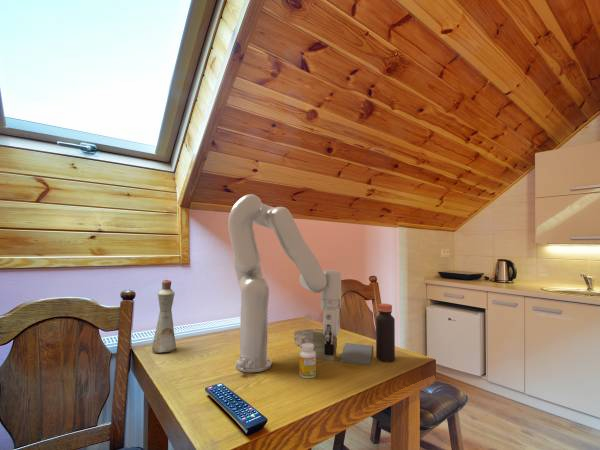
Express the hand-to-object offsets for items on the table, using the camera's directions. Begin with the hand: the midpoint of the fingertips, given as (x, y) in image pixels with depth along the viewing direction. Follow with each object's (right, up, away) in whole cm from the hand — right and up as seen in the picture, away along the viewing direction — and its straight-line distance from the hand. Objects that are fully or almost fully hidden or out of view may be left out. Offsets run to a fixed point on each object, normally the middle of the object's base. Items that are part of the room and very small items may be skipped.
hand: (330, 350), depth 116 cm
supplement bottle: (-9, -2, -14) cm, 17 cm away
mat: (+11, -3, +5) cm, 12 cm away
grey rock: (-7, -4, +17) cm, 19 cm away
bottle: (-65, -3, +7) cm, 66 cm away
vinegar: (+21, -3, 0) cm, 21 cm away
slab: (-2, -3, +1) cm, 4 cm away
